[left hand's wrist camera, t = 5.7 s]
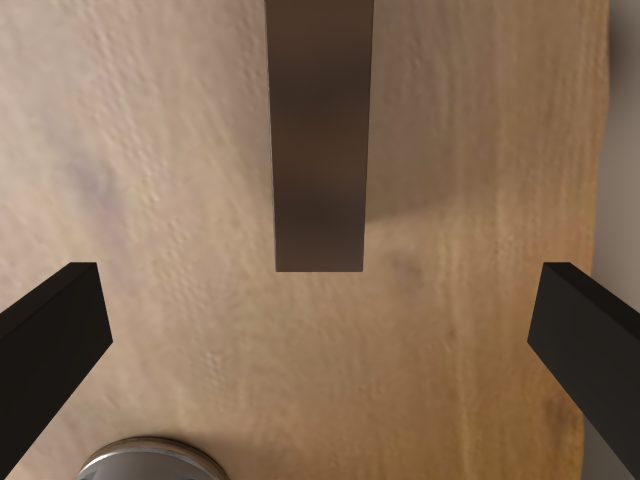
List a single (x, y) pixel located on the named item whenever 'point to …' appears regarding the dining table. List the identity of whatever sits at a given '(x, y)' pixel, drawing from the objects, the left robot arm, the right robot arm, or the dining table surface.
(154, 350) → the dining table surface
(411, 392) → the dining table surface
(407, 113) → the dining table surface
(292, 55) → the beam
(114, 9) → the dining table surface
